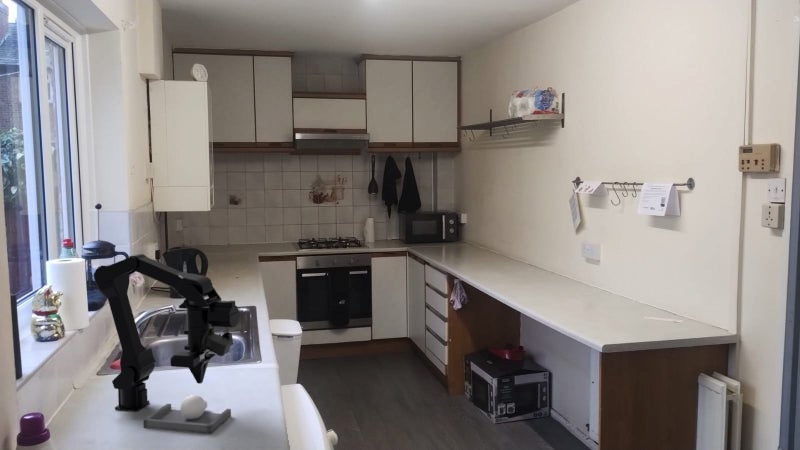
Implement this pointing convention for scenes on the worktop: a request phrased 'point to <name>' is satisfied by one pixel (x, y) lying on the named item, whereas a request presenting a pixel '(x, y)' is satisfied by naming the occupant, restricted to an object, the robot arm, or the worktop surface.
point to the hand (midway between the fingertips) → (199, 383)
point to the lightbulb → (193, 407)
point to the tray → (185, 421)
